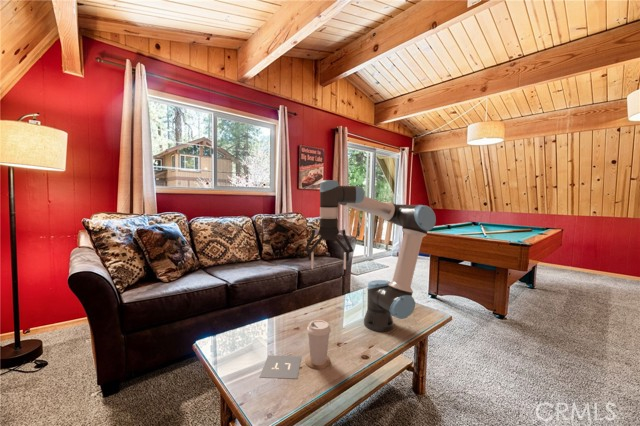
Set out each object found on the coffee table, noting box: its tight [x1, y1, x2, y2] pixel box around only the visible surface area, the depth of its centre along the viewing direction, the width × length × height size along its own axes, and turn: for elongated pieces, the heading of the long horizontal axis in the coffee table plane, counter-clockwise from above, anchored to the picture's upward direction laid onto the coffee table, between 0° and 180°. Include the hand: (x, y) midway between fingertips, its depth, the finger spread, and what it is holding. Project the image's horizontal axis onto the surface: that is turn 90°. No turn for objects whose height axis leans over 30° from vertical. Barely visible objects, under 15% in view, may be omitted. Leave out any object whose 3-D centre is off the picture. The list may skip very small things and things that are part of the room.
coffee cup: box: [306, 319, 332, 365], centre depth 110 cm, size 10×10×15 cm
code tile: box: [259, 354, 302, 380], centre depth 107 cm, size 14×14×1 cm
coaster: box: [305, 354, 331, 370], centre depth 110 cm, size 10×10×1 cm
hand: (328, 268), depth 114 cm, fingers open, 13 cm apart
